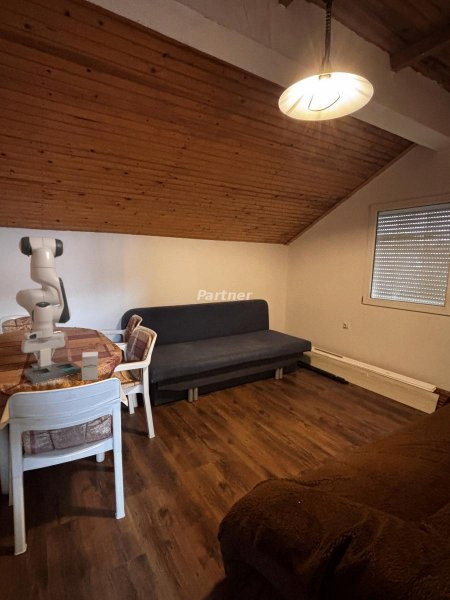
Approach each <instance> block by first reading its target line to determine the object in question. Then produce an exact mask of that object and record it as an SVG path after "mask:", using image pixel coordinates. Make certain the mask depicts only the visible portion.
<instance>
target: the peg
mask: <svg viewBox="0 0 450 600" xmlns="http://www.w3.org/2000/svg"><path fill="white" fill-rule="evenodd" d="M37 352H38V353H37V355H39V356H40V357H39V358H40V359H37V363H38V365H39V366H40V367H42V366H47V365H51V361H52V357H51V349H45V350H40V351H37Z"/></svg>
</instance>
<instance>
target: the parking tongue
mask: <svg viewBox="0 0 450 600" xmlns="http://www.w3.org/2000/svg"><path fill="white" fill-rule="evenodd" d="M52 364H57V363H56V362H54V360H51V365H52ZM30 366H32V367H31V368H37V367H40V366H39V365H38V362H37V363H33V364H31V365H30Z"/></svg>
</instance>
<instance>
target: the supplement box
mask: <svg viewBox="0 0 450 600" xmlns="http://www.w3.org/2000/svg"><path fill="white" fill-rule="evenodd" d="M98 365H99V351H88V352H87V351H84V352H82V353H81V382H84V381H96V380H98V378H99V377H98V376H99V374H98V373H99V370H98V369H99V366H98Z"/></svg>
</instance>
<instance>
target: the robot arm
mask: <svg viewBox="0 0 450 600" xmlns="http://www.w3.org/2000/svg"><path fill="white" fill-rule="evenodd" d="M18 248H19V250H20V253H21V254H22V255H24V256H27V257H30V256H31V257H30V265H29V266H30V267H29V268H30V272H29V273H30V279H31V280H32V282H34V283H37V284H39V285H41V288H26V289H21V290H19V291H18V292H17V293H16V295H15V302H16V303H17V305H18V306H20V307H21V308H23V309H25V310H26V312H27V313H28V314H29V317H30V323H31V324H30V325H31V327H30V330H29V331H26V332H24V333H23V338H22V340H21V347H20V348H21V352H22V353H23V354H33V355H34V356H35V360H38V359H40V358H39V357H40V356H39V355H38V352H37V351H40V350H45V349H51V358H52V357H53V356H54V353H55V351H56V349H60V348H64V347H65V345H66V341H65V337H66V336H65V335H66V334H65V332H64V331H63V330H56V331H55V330H54V325H53V324H67V322H69V321H70V320H71V317H72V313H71V309H70V308H69V304H68V300H67V298H68V297H67V294H66V289H65V286H64V282H63V280H62V277H60V276H58V274H57V272H56V271H57V270H56V261H55V259H56V258H59V257H61V256H62V255H63V254H64V251H65V246H64V242H63V241H62V240H61V239H59V238H52V237H47V236H22V237H21V238H20V240H19V243H18Z"/></svg>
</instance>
